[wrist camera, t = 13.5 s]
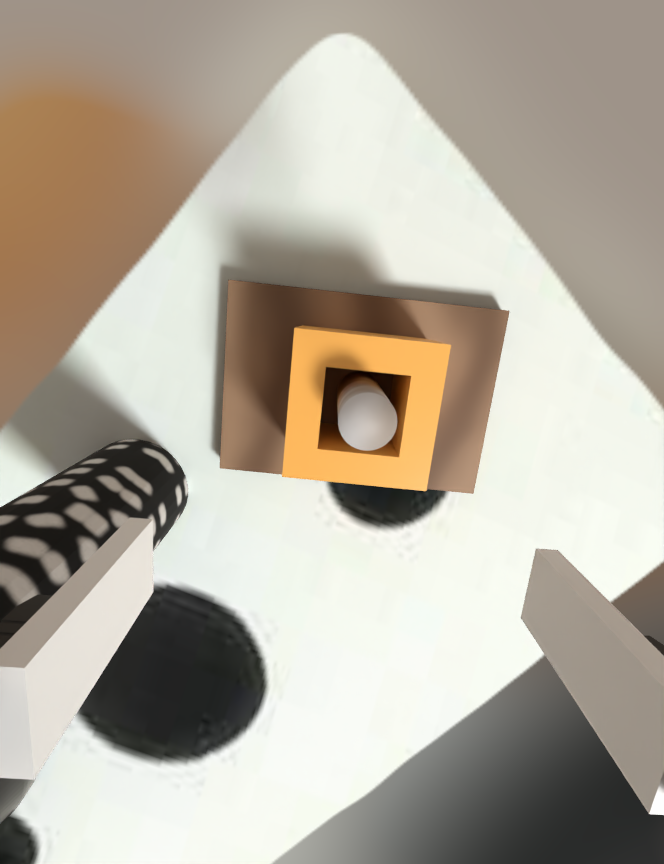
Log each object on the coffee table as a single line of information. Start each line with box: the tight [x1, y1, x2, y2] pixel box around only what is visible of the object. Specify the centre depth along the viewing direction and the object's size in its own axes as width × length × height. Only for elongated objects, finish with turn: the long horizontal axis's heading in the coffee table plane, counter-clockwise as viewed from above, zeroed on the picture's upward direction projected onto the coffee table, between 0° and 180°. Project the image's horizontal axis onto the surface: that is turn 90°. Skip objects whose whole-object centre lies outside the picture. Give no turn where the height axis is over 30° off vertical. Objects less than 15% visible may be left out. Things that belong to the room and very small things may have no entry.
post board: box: [220, 280, 509, 494], centre depth 30 cm, size 20×14×11 cm
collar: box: [282, 325, 451, 491], centre depth 30 cm, size 9×9×7 cm
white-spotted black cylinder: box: [0, 439, 188, 623], centre depth 27 cm, size 8×8×20 cm
